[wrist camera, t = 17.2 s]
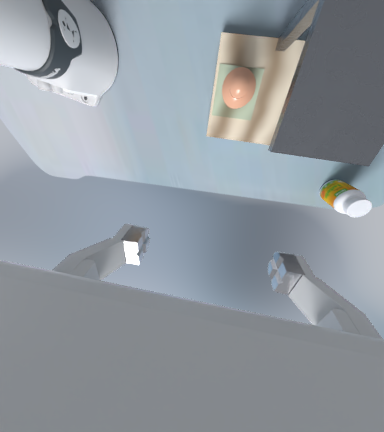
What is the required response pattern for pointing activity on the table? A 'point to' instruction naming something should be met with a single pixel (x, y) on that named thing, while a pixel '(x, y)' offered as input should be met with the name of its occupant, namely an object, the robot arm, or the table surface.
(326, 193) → the supplement bottle
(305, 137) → the tunnel roof
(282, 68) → the birch board
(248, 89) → the terracotta bottle
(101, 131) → the table surface
